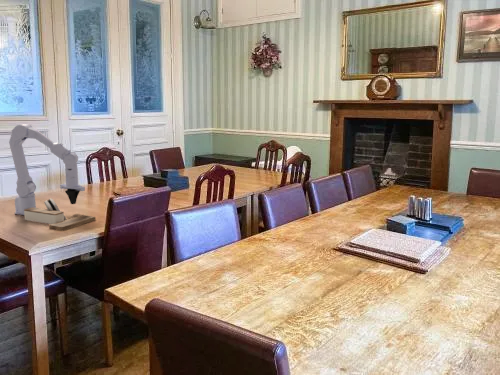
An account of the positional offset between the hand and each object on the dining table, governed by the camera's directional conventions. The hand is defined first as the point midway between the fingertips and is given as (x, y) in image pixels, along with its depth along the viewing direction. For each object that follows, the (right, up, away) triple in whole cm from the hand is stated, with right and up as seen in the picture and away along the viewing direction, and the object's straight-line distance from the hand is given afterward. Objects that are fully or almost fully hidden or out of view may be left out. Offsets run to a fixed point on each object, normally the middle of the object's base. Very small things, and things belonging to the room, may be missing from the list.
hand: (73, 203), depth 234 cm
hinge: (-6, -6, -8) cm, 12 cm away
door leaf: (+8, -9, -20) cm, 23 cm away
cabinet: (-8, -8, -15) cm, 19 cm away
